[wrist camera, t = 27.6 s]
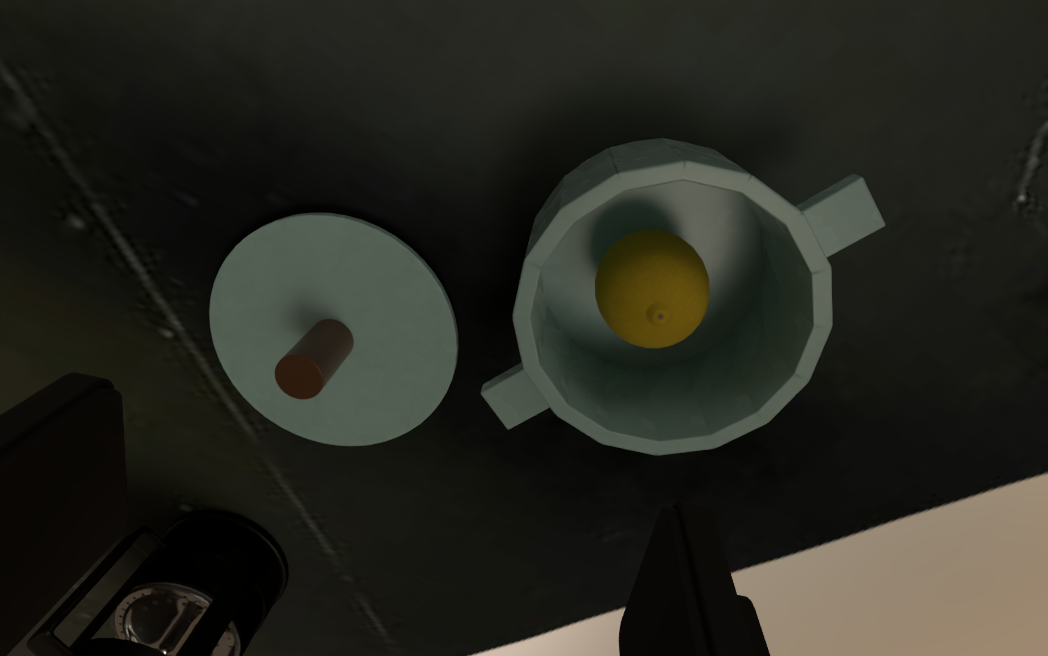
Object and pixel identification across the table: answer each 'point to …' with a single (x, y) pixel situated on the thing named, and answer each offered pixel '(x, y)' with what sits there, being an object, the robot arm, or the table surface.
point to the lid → (334, 329)
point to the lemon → (652, 288)
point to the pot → (732, 314)
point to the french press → (179, 594)
